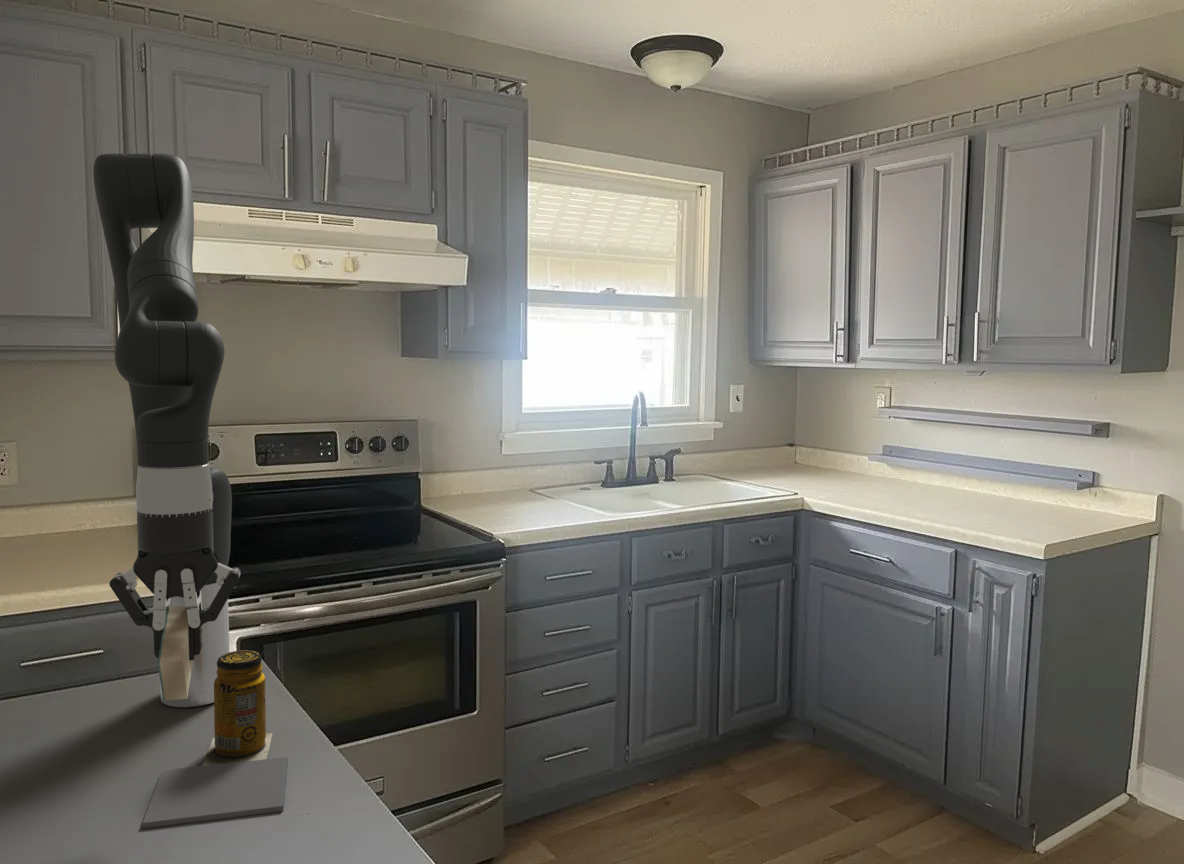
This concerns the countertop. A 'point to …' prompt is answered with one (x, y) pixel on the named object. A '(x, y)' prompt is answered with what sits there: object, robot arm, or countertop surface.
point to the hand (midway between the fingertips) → (179, 658)
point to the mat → (218, 792)
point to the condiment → (239, 710)
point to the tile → (175, 655)
